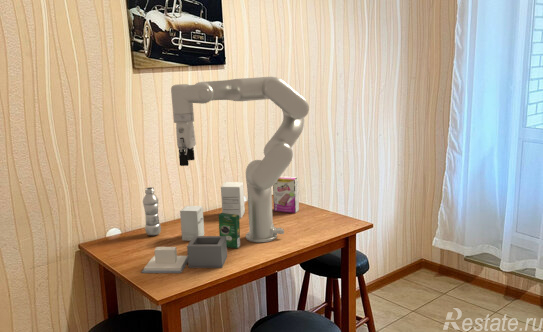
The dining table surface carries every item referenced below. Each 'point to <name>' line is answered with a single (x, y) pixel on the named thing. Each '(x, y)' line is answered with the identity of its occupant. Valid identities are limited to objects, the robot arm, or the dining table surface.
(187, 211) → the supplement box
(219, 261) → the storage box
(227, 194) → the supplement box
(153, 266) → the lid
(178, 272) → the mat
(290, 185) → the candy bar box
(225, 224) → the coffee box
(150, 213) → the plastic bottle
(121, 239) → the dining table surface
